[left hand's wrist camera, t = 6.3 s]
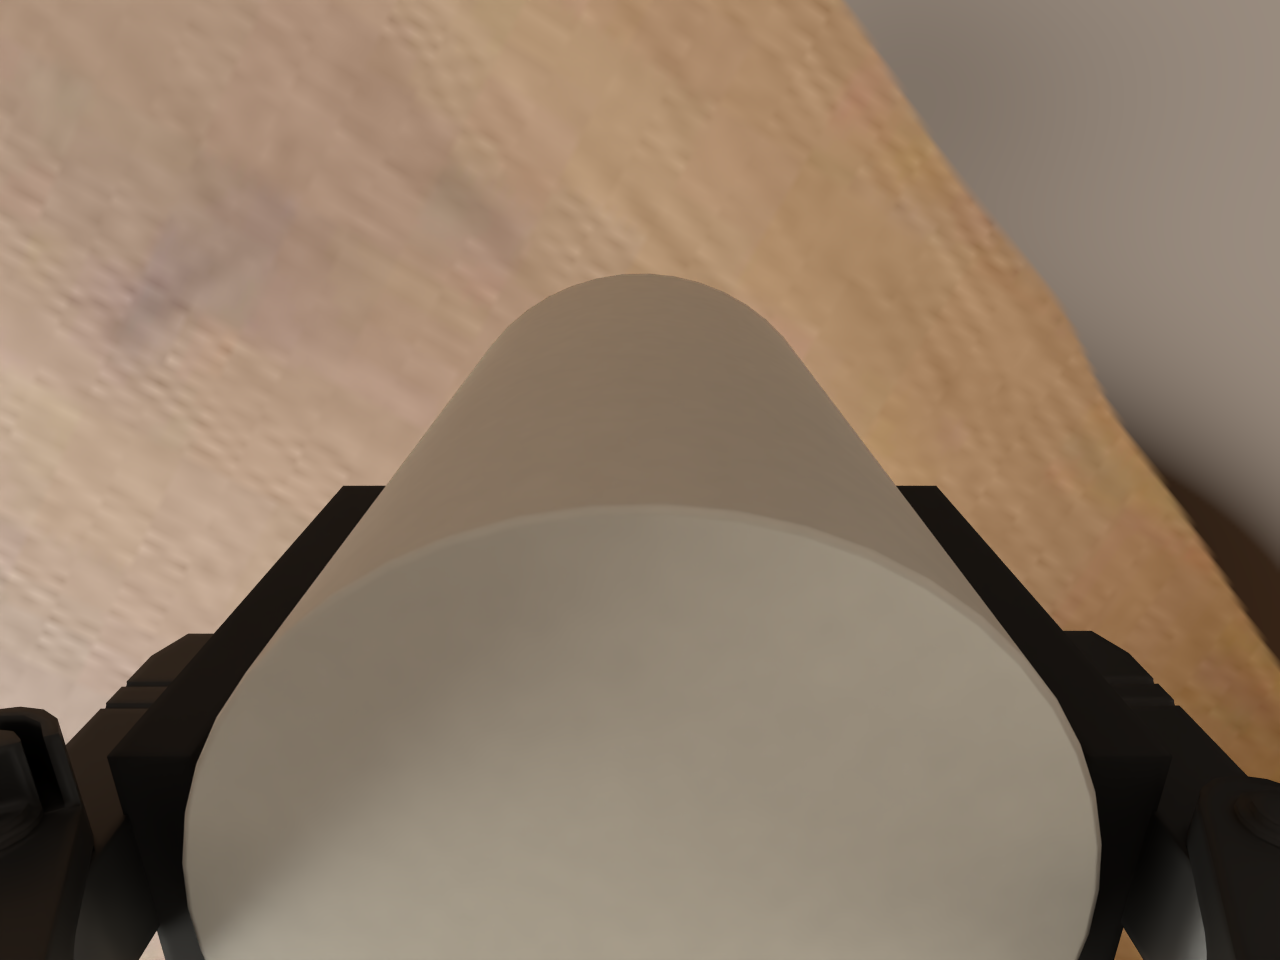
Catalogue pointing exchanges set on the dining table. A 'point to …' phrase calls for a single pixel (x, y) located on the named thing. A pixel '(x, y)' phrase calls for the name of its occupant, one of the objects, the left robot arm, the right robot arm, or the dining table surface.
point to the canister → (641, 688)
